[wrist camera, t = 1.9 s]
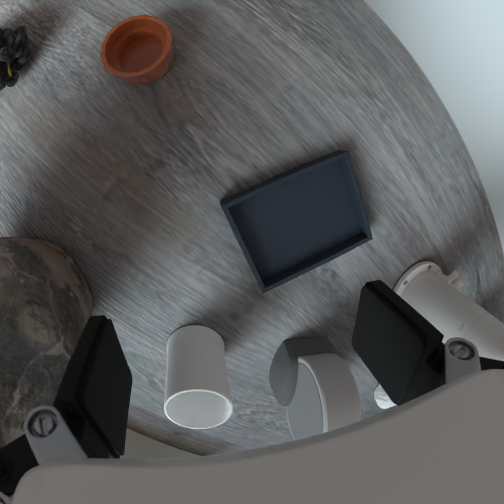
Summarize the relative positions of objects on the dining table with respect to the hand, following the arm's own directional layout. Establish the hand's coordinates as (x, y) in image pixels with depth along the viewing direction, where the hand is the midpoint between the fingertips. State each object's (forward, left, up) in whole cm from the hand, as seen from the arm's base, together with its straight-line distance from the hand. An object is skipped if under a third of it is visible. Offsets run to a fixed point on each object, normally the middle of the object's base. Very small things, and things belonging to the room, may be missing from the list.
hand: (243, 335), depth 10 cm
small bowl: (0, -19, -25) cm, 32 cm away
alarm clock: (-1, +31, -25) cm, 40 cm away
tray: (-9, +7, -25) cm, 28 cm away
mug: (+13, +19, -25) cm, 34 cm away
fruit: (+17, -33, -25) cm, 45 cm away
